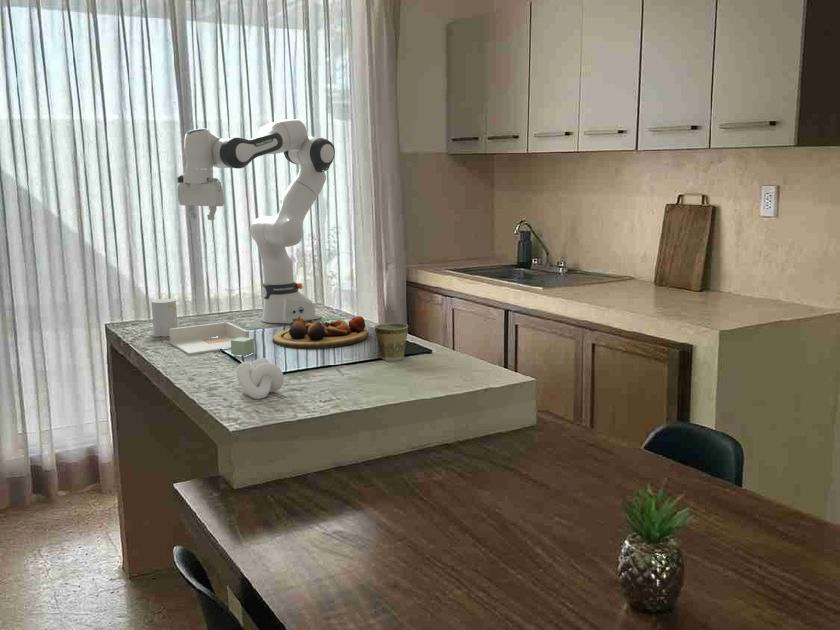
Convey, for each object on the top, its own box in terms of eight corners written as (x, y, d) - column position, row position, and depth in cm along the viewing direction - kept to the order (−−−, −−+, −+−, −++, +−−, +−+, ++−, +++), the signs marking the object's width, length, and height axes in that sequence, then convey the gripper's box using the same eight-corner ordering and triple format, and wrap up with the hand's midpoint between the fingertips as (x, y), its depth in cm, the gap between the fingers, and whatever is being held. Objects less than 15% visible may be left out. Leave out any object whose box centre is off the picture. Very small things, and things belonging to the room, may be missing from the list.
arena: (228, 335, 284) (227, 321, 283) (249, 346, 267) (248, 331, 266) (170, 343, 273) (169, 328, 272) (188, 354, 257) (187, 339, 256)
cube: (241, 352, 259) (240, 337, 258) (254, 353, 257) (253, 338, 256) (231, 356, 254) (230, 340, 254) (245, 357, 253) (244, 341, 252)
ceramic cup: (404, 363, 242) (404, 329, 240) (372, 361, 244) (371, 328, 242) (414, 352, 254) (413, 321, 252) (382, 352, 256) (381, 320, 254)
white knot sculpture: (287, 388, 217) (286, 355, 216) (281, 401, 205) (279, 366, 204) (244, 389, 217) (242, 356, 215) (236, 402, 205) (233, 367, 203)
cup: (174, 336, 284) (171, 302, 282) (150, 337, 284) (147, 302, 282) (181, 331, 292) (178, 298, 290) (158, 332, 292) (155, 298, 290)
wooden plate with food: (375, 330, 291) (374, 307, 290) (359, 349, 260) (358, 323, 259) (286, 331, 295) (285, 309, 293) (261, 351, 263) (259, 325, 262)
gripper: (227, 177, 271) (229, 220, 273) (188, 177, 283) (191, 218, 286) (212, 178, 266) (214, 221, 268) (173, 178, 278) (175, 219, 281)
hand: (202, 219), depth 277 cm, fingers open, 8 cm apart
